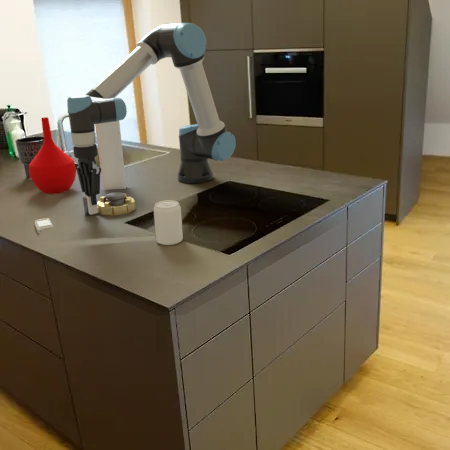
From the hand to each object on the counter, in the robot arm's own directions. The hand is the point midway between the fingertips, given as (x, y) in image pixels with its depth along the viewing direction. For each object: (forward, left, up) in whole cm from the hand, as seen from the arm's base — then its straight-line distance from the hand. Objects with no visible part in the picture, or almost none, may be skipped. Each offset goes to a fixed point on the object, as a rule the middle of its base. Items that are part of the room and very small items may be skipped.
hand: (93, 213), depth 177 cm
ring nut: (-4, -6, -1) cm, 7 cm away
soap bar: (+15, +7, -3) cm, 17 cm away
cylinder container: (+3, -38, -3) cm, 39 cm away
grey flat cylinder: (-4, -6, -3) cm, 8 cm away
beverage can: (-29, +19, -3) cm, 35 cm away
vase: (+27, -36, -3) cm, 45 cm away
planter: (+43, -56, -3) cm, 71 cm away
